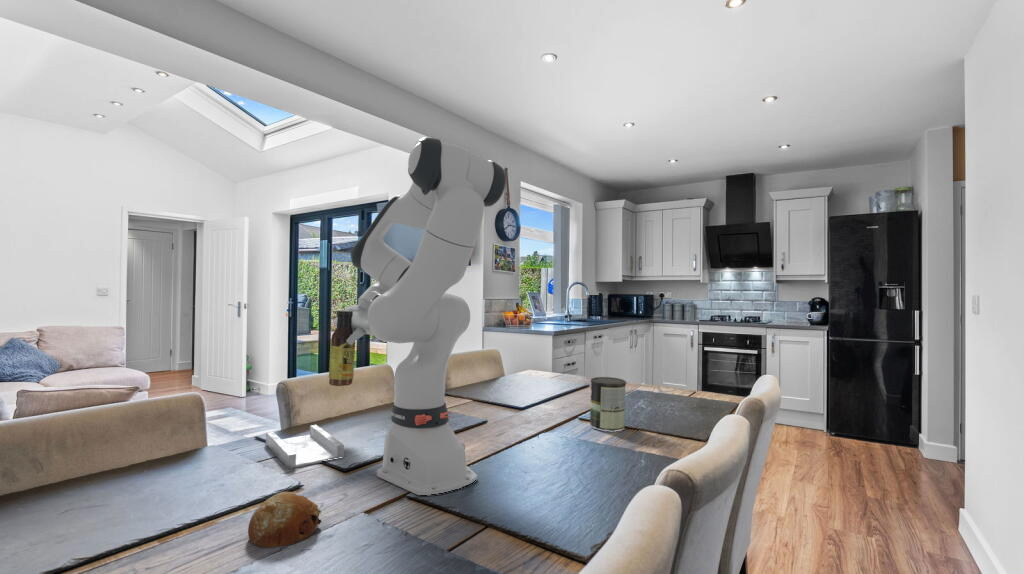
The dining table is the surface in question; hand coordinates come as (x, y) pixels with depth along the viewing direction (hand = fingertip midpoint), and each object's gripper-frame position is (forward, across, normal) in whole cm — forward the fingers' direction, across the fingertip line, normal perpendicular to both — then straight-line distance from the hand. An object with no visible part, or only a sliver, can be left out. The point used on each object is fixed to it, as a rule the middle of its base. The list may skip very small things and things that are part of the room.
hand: (340, 341), depth 127 cm
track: (+26, +6, +9) cm, 28 cm away
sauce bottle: (+8, 0, +9) cm, 12 cm away
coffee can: (-26, +44, +62) cm, 80 cm away
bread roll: (+39, +41, -3) cm, 57 cm away
